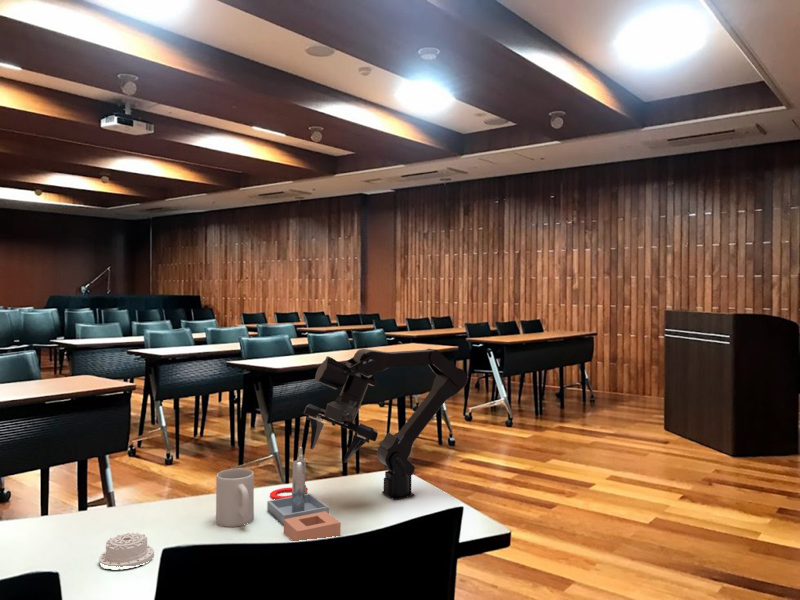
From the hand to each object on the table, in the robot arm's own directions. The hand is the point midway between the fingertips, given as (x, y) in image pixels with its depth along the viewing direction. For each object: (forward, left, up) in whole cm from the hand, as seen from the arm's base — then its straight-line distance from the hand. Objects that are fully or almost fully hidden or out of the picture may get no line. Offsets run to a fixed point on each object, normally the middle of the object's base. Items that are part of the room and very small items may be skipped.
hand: (327, 455), depth 157 cm
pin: (+8, +1, -12) cm, 15 cm away
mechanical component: (+47, +8, -13) cm, 49 cm away
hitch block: (+10, +14, -13) cm, 22 cm away
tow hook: (+5, -13, -13) cm, 19 cm away
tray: (+8, +1, -13) cm, 15 cm away
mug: (+22, -1, -13) cm, 26 cm away
